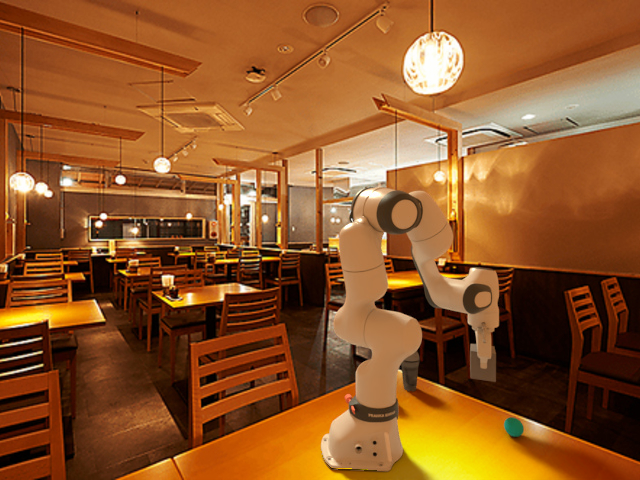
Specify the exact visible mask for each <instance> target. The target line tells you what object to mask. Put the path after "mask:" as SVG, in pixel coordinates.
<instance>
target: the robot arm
mask: <svg viewBox="0 0 640 480" xmlns="http://www.w3.org/2000/svg"><path fill="white" fill-rule="evenodd" d="M350 204H351V205H350V212H349V216H348V217H349V219H348V220H349V221H350V222H349V223H348V224H346V225H345V226H343V227H342V228H341V230H340V232H339V234H338V247H339V248H338V250H339V258H340V259H339V261H340V265H341V270H342V275H343V281H344V287H345V288H344V289H345V301H344V303H343V305H342V306H341V307H340V308H339V309H338V310H337V311H336V313H335V315H334V317H333V318H334V319H333V330H334V334H335V335H336V337H338V338H340V339H341V340H342V341H344V342H347V343H348V344H350V345H354V346H358V347H363V348H366V349H369V350H371V358H370V359H367V360H365V361H363V362H360V364H359V365H358V367H357V368H356V371H355V395H354V396H353V397H352V395H351V394H350V393H347V394H345V396H344V399H345V402H346V404H348V409H347V410H345V411H344V412H343V413H342V414H341V415H339V416H337V417H336V418H334V420H332V422H331V424H330V427H329V433H325V434H324V435H323V437H322V439H321V443H320V451H322V453H321V456H322V455H323V457H322V459H323V458H324V459H323V461H324V460H325V461H324V463H325V462H326V463H327V464H328V465H329V466H330V467H332V468H352V469H368V470H377V471H376V472H389V471H391V469H392V467H393V465H394V464H395V462H397V461H398V460H400V459H401V457H402V455H403V453H404V449H403V445H402V441H401V437H400V431H399V425H398V420H399V411H400V410H399V399H398V398H397V383H398V372H399V370H400V368H401V367H400V366H402V365H401V363H402V362H403V361H404V360H405V359H406V358H407V357H408V356H410V355H412V354H413V353H415V352H416V351H417V352H418V349H419V348H420V346H421V344H422V339H423V331H422V327H421V325H420V322H419V321H418V320H417V319H416V318H414V317H412V316H411V315H407V314H404V313H403V312H399V311H394V310H387V309H381V308H379V307H377V306H376V305H375V304H376V303H375V302H376V301H378V300H379V299H381V298H383V297H384V296H385V294H386V292H387V291H388V288H389V287H388V286H389V281H388V276H387V271H386V265H385V258H384V254H383V249H382V243H383V242H382V241H383V237H384V234H385V233H386V234H388V235H394V236H395V235H397V236H398V235H404V234H406V235H407V237H408V239H409V240H410V243H411V246H410V255H411V258H412V259H411V260H412V261H413V264H414V267H415V268H416V271H417V273H418V276H419V278H420V280H421V283H422V286H423V290H424V295H425V298H426V300H427V302H428V304H429V305H430V306H431V307H433V308H435V309H443V310H444V309H445V310H448V311H449V310H450V311H453V312H458V313H462V314H463V313H464V314H467V324H468V325H469V326H471V329H472V330H473V331H474V333H475V341H476V343H475V344H477V356H478V357H479V358H480V367H481V368H483V369H486V368H487V360H488V359H491V346H492V335H491V333H493V332H495V328H498V327H499V326H500V309H499V306H498V305H499V304H498V302H499V297H500V287H499V286H500V285H499V277H498V274H497V271H496V270H494V269H492V268H486V267H479V266H478V267H477V266H472V267H470V268H469V270H468V271H469V272H468V274H467V276H465V278H463V279H457V278H450V277H447V276H444V275H442V274H441V273H440V271H439V268H438V266H437V264H436V259H439V258H440V257H442V256H443V255H445V254H446V253H447V252H448V251H449V249H450V248H451V246H452V245H453V242H454V232H453V229H452V226H451V224H450V223H449V221H448V219H447V217H446V215H445V214H444V212H443V210H442V209H441V207H440V206H439V204H438V203H437V202H436V200H435V199H434V198H433V196H431V195H430V194H429V193H428V192H426V191H425V190H414V191H410V192H409V193H408V192H406V191H404V190H401V189H400V190H397V189H393V188H389V187H386V186H385V187H383V186H382V187H380V186H378V187H376V186H375V187H373V186H369V187H365V188H362V189H360V190H359V191H358V192H357V193H355V195H354V197H353V198H352V201H351V203H350ZM326 463H325V464H326ZM327 464H326V465H327ZM328 465H327V466H328ZM329 466H328V467H329ZM330 467H329V468H330Z"/></svg>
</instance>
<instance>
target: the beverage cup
mask: <svg viewBox="0 0 640 480" xmlns="http://www.w3.org/2000/svg"><path fill="white" fill-rule="evenodd" d="M420 360H421V359H420V355H419V352H418V350H417V351H416V352H415V353H413V354H412V355H410V356H408V357H407V358H406V359H405V360H404V361H403V362H402V363H401V365H400V366H401V374H402V384H403V389H404V390H405V391H406V390H407V392H410V391H412V392H415V391H416V390H417V384H418V374H419V373H418V372H419V365H420Z"/></svg>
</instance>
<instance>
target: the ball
mask: <svg viewBox="0 0 640 480" xmlns="http://www.w3.org/2000/svg"><path fill="white" fill-rule="evenodd" d="M503 428H504V430H505V431H506V433H507V434H508V435H510V436H511V437H515V438H518V437H521V436H522V435H523V433H524V425H523V423H522V422H521V420H520V419H518V418H517V417H514V416H513V417H512V416H511V417H507V418H506V419H505V420H504V423H503Z"/></svg>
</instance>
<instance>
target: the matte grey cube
mask: <svg viewBox="0 0 640 480" xmlns="http://www.w3.org/2000/svg"><path fill="white" fill-rule="evenodd" d="M469 346H470V347H469V348H470V350H469V362H470V363H469V365H470V367H469V370H470V371H469V373H470V375H469V376H470V379H472V380H481V381H487V382H493V383H496V381H497V352H496V349H495V345H491V359H488V360H487V368H486V369H483V368H481V367H480V358H479V357H478V356H477V343H470V345H469Z"/></svg>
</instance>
